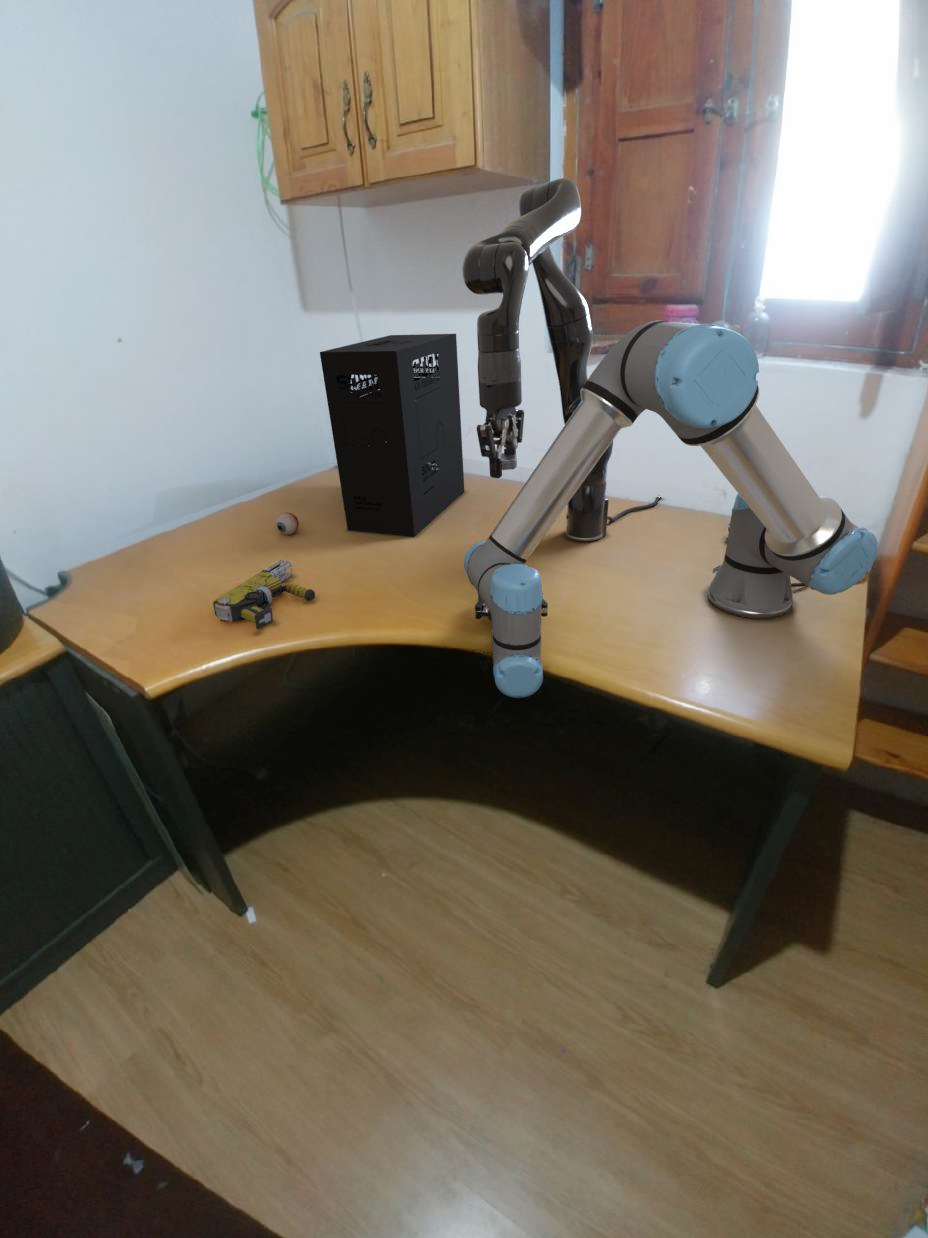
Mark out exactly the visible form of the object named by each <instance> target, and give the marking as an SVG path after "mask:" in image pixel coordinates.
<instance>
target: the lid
mask: <svg viewBox="0 0 928 1238" xmlns="http://www.w3.org/2000/svg"><path fill="white" fill-rule="evenodd" d="M500 458H501V460H502V471H509V470H513V469H512V468H515V467H516V468H517V466H518V458H517V454H516V455H514V454H510V453H504V452H503V453H502V452H501V457H500ZM516 468H515V469H516Z"/></svg>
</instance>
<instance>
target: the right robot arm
mask: <svg viewBox="0 0 928 1238" xmlns="http://www.w3.org/2000/svg"><path fill="white" fill-rule="evenodd" d="M758 359H759V358H758V357H757V354H756V351H755V348H754V347H753V345H752V344H751V343H750V342H749V340H748V339H747V338H746V337H745V336H743V335H742V334H740V333H739V332H737V331H735V330H733V329H729V328H727V327H724V326H722V325H717V324H715V323H690V322H677V321H670V320H652V321H648V322H644V323H642V324H640V325H638V326H636V327H634V328H633V329H632V330H630V331H629V332H627V333H625V334H624V335H623V336H622V337H621V338H620V339H619V340H617V342H616V343H615V344H614V345H613V346H612V347H611V348H610V350H608V352H607V353H606V354H605V356H603V358H602V359H601V361H600V362H598V364H597V366H596V367H595V369H594V370H593V371H592V372H591V374H590V375H589V377H588V380H587V382H586V383H585V384H584V386H583V387H582V389H581V390H580V393H581V402H580V404H579V405H578V407H577V408H576V409H575V411H574V412H573V414H572V415H571V417H570V418H569V420H568V421H567V423H566V424H564V426H562V428H561V430H560V432H559V433H558V434H557V436H555V439H554V441H552V443H551V445H550V446H549V448H548V449H547V451H546V452H545V454H544V455H543V456H542V458H541V459H540V461H539V463H538V464H537V465H536V467H535V468H534V470H533V471H532V473H531V474H530V476H529V477H528V479H527V480H526V481H525V483H524V485H523V486H522V487H521V489H520V490H519V492H518V493H517V495H516V497H515V498H514V499H513V500H512V502H511V504H510V505H509V507H508V508H507V510H506V511H505V512H504V514H503V515H502V517H501V518H500V520H499V521H498V523H497V524H496V526H495V527H494V528H493V530H492V532H491V533H490V535H489V536H488V538H487V539H486V540H482V541H479V542H477V543H475V544H473V545H472V546H470V547H469V548H468V549H467V550H466V553H465V555H464V557H463V569H464V572H465V574H466V576H467V579H468V581H469V583H470V585H472V586H473V587H474V589H475V590H476V591H477V602H476V604H475V605H474V618H475V620H481V619H482V618H483V617H486V618H488V620H489V621H490V624H491V642H492V644H491V645H492V665H493V667H492V675H493V677H494V683H495V686H496V688H497V690H499V691H500V693H502V694H503V695H504V696H507V697H510V698H513V699H520V698H521V699H522V698H527V697H530V696H532V695H534V694H535V693H536V692H537V691H539V689H540V688H541V686H542V684H543V681H544V666H543V664H542V617H544V618H545V617H548V608H549V603H548V601H546V600H545V599H544V596H543V595H544V592H543V587H542V576H541V573H540V572H539V571H538V570H537V569H536V568H534V567H531V566H530V567H529V565H527V564H526V562H528V560H529V559H530V557H531V556H532V554H533V553H534V551H535V550H536V549H537V547H538V546H539V545H540V543H541V542H542V540H543V539H544V538H545V536H546V535H547V533H548V532H549V530H550V529H551V528H552V526H553V525H554V523H555V522H556V521H557V519H558V518H559V517H560V515H561V514H562V513H563V511H564V510H565V509H566V508H567V504H568V502H569V501H570V500H571V498H572V497H573V495H574V494H575V493H576V491H577V490H578V488H579V487H580V486H581V484H582V483H583V481H584V480H585V479H586V477H587V476H588V474H589V473H590V472H591V470H592V469H593V467H594V466H595V465H596V463H597V462H598V460H599V459H600V458H601V456H602V455H603V453H604V452H605V451H606V449H607V448H608V447H609V445H610V444H611V442H612V441H613V442H614V440H615V439H616V437H617V436H618V434H619V433H620V431H621V430H622V429H625V428H630V427H632V426H633V424H634V423H635V422H636V420H637V419H638V417H639V416H640V415H641V414H642V413H644V411H646V410H648V411H651V412H653V413H656V414H657V415H658V416H659V417H660V418H662V419H663V421H664V422H665V423H666V425H668V427H669V428H670V429H671V430H672V431H673V432H674V434H675V435H676V436H677V438H678V439H679V440H680V441H681V442H682V443H683V444H684V445H687V446H690V447H691V446H692V447H700V448H702V450H703V451H704V452H705V453H706V455H707V456H708V457H709V459H710V460H711V461H712V463H713V464H714V465H715V466H716V468H717V469H718V470H719V472H721V474H722V475H723V477H725V479H726V480H727V481H728V482H729V484H730V485H731V486H732V488H733V489H734V490H735V491H736V493H737V494H736V496H735V500H734V503H733V507H732V508H731V514H730V515H731V516H730V522H729V523H730V527H729V531H728V534H727V537H728V540H726V546H725V553H724V559H723V562H722V563H721V564H719V565H718V566H716V567H713V569H712V574H714V573H716V574H715V575H714V577H713V579H712V581H711V582H710V585H709V587H708V593H707V598H708V600H709V602H710V603H711V604H712V605H713V606H714V607H716V608H717V609H719V610H721V611H722V612H724V613H727V614H729V615H733V616H737V617H742V618H745V619H756V620H757V619H758V620H765V619H775V618H779V617H781V616H784V615H786V614H787V613H789V612H790V611H791V608H792V604H793V601H794V600H793V598H794V597H793V596H794V594H793V588H798V587H799V588H800V587H805V586H807V587H808V589H810V590H813V591H816V592H818V593H821V594H823V595H827V596H828V595H829V596H830V595H831V596H832V595H837V594H839V593H843V592H845V591H847V590H849V589H850V588H853V587H854V586H855V585H857V583H859V582H860V581H861V580H862V579H863V577H864V576H865V575H866V574H867V573H868V572H869V570H870V569H871V568H872V565H873V563H874V561H875V559H876V558H877V554H878V550H879V543H878V539H877V536H876V535H875V534H874V533H873V532H871V531H869V530H868V529H867V527H864V526H860V527H859V526H858V525H856V524H854V523H853V522H852V521H851V520H850V519H849V518H848V516H847V515H846V514H845V512H844V510H843V509H842V507H841V506H840V505H839V503H838V502H837V501H836V500H835V499H833V498H832V497H829V496H826V495H819V494H818V493H817V491H816V489H814V487H813V486H812V484H811V483H810V481H809V480H808V478H807V477H806V476H805V474H804V472H803V471H802V470H801V468H800V467H799V465H798V464H797V462H796V461H795V459H794V458H793V456H792V455H791V454H790V452H789V450H788V449H787V448H786V447H785V445H784V444H783V442H782V441H781V439H780V438H779V436H778V435H777V433H776V432H775V430H774V429H773V428H772V426H771V425H770V423H769V422H768V420H767V419H766V418H765V416H764V415H763V413H762V412H761V410H760V409H759V407H758V406H757V402H758V400H759V397H760V387H759V386H760V385H759V381H758V379H757V374H758V373H760V364H759V360H758ZM791 578H793V579H795V580H796V581H799V582H792V581H791Z"/></svg>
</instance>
